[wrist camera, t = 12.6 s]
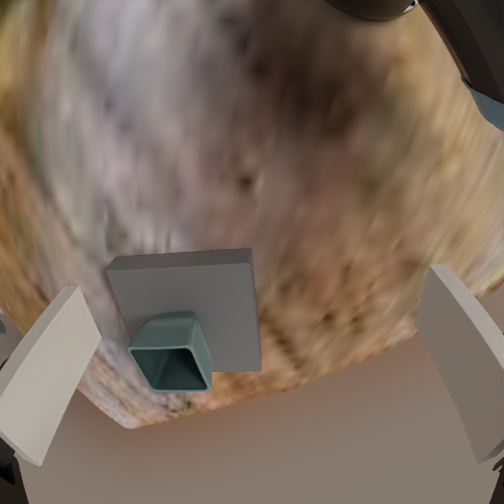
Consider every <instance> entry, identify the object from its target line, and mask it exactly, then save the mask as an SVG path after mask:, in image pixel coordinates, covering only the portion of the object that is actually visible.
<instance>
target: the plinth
mask: <svg viewBox="0 0 504 504" xmlns="http://www.w3.org/2000/svg"><path fill="white" fill-rule="evenodd" d="M106 274H107V277H108V280H109V282H110V285H111V288H112V291H113V294H114V296H115V299H116V302H117V304H118V307H119V310H120V312H121V315H122V317H123V320H124V322H125V325H126V327H127V330H128V332H129V334H130V337H131V339H132V340H133V338H134V337H135V336H136V334H137V333H138V331H139V330H140V329H141V328H142V326H143V325H144V324H145V323H147V322H148V321H149V320H151V319H153V318H155V317H157V316H160V315H163V314H171V313H184V312H195V313H196V315H197V317H198V320H199V323H200V325H201V328H202V331H203V333H204V336H205V339H206V341H207V344H208V347H209V350H210V354H211V360H212V372H241V371H261V344H260V334H259V324H258V314H257V304H256V294H255V284H254V274H253V264H252V254H251V248H242V249H227V250H212V251H197V252H182V253H167V254H152V255H137V256H123V257H116V258H115V259H114V261H113V262H112V263H111V264H110V266H109V267H108V268H107V269H106Z"/></svg>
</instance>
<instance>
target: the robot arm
mask: <svg viewBox="0 0 504 504" xmlns="http://www.w3.org/2000/svg"><path fill="white" fill-rule="evenodd" d="M325 1H327V2H328V3H329V4H331V5H332V6H334V7H335V8H337V9H339V10H341V11H343V12H345V13H347V14H349V15H352V16H355V17H358V18H361V19H366V20H373V21H385V20H391V19H395V18H398V17H400V16H402V15H404V14H406V13H408V12H409V11H411V10H412V9H413V8H414V7H415V6H416V5H417V4H418V3H419V5H420V6H421V7H422V9H423V10H424V12H425V13H426V15H427V16H428V18H429V19H430V21H431V22H432V24H433V25H434V27H435V28H436V30H437V32H438V33H439V35H440V37H441V38H442V40H443V42H444V44H445V45H446V47H447V49H448V51H449V53H450V54H451V56H452V58H453V60H454V62H455V64H456V66H457V68H458V70H459V72H460V74H461V79H462V81H463V83H464V85H465V86H466V87H467V88H468V89H469V91H470V93H471V94H472V97H473V99H474V101H475V103H476V105H477V107H478V109H479V111H480V113H481V114H482V115H483V117H484V118H485V119H486V120H487V121H488V122H490V123H491V124H493V125H494V126H495V127H496V128H498V129H500V130H502V131H504V0H325ZM415 325H416V327H417V329H418V331H419V333H420V334H421V336H422V338H423V340H424V342H425V344H426V346H427V348H428V350H429V352H430V354H431V356H432V358H433V360H434V362H435V364H436V366H437V368H438V370H439V372H440V374H441V376H442V378H443V380H444V383H445V385H446V387H447V389H448V392H449V394H450V396H451V398H452V400H453V403H454V405H455V407H456V410H457V412H458V414H459V417H460V419H461V422H462V424H463V426H464V429H465V431H466V434H467V437H468V439H469V442H470V445H471V447H472V450H473V452H474V455H475V458H476V461H477V464H480V463H482V462H484V461H486V460H489V459H491V458H493V457H495V456H497V455H498V454H499V453H500V452H501V451H502V450H503V449H504V333H503V334H502V332H501V331H500V330H499V328H498V327H497V326H496V324H495V323H494V322H493V320H492V319H491V318H490V316H489V315H488V314H487V312H486V311H485V310H484V308H482V306H481V305H480V303H479V302H478V301H477V300H476V298H475V297H474V296H473V295H472V293H471V292H470V291H469V290H468V289H467V287H466V286H465V285H464V284H463V283H462V281H461V280H460V279H459V278H458V277H457V275H456V274H455V273H454V272H453V271H452V270H451V269H450V267H449V266H448V265H447V264H446V263H444V264H434V265H429V268H428V273H427V278H426V282H425V286H424V291H423V295H422V299H421V303H420V307H419V311H418V314H417V318H416V322H415ZM101 339H102V337H101V335H100V333H99V331H98V329H97V326H96V324H95V322H94V320H93V318H92V315H91V313H90V311H89V309H88V306H87V304H86V302H85V299H84V297H83V294H82V292H81V289H80V287H79V286H64V287H63V289H62V290H61V291H60V292H59V293H58V295H57V296H56V297H55V298H54V299H53V301H52V302H51V303H50V304H49V306H48V307H47V308H46V309H45V311H44V312H43V313H42V314H41V316H40V317H39V318H38V319H37V321H36V322H35V323H34V325H33V326H32V327H31V329H30V330H29V331H28V333H27V334H26V335H25V337H24V338H23V339H22V341H21V342H20V343H19V345H18V346H17V348H16V349H15V350H14V352H13V353H12V355H11V356H10V357H9V358H8V359H7V360H5V361H4V362H3V364H2V365H1V367H0V504H29V502H28V499H27V496H26V492H25V489H24V485H23V481H22V477H21V472H20V468H19V464H18V461H17V459H16V458H15V457H14V456H13V455H14V453H15V451H16V452H17V453H18V454H19V455H20V456H21V457H23V458H24V459H25V460H26V461H29V462H31V463H33V464H35V465H38V466H40V467H41V465H42V462H43V460H44V457H45V455H46V452H47V450H48V447H49V445H50V443H51V441H52V438H53V436H54V434H55V431H56V429H57V427H58V425H59V423H60V420H61V418H62V416H63V414H64V412H65V410H66V408H67V405H68V404H69V401H70V399H71V397H72V395H73V393H74V391H75V389H76V387H77V385H78V383H79V381H80V379H81V377H82V375H83V373H84V371H85V369H86V367H87V366H88V364H89V362H90V360H91V358H92V356H93V354H94V352H95V350H96V349H97V347H98V345H99V343H100V341H101ZM502 464H503V465H502ZM501 465H502V468H501V469H500V470H499V472H500V475H499V478H498V481H497V484H496V487H495V490H494V492H493V495H492V498H491V501H490V503H489V504H504V457H503V458H502V459H501V460H500V461H498V462H497V463H496V464H495V466H494V468H493V469H492V470H493V471H495V470H496V469H497V468H499V467H500V466H501Z"/></svg>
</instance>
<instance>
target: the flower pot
mask: <svg viewBox="0 0 504 504" xmlns="http://www.w3.org/2000/svg"><path fill="white" fill-rule="evenodd" d="M127 351H128V353H129V355H130V357H131V358H132V360H133V362H134V363H135V365H136V366H137V368H138V370H139V371H140V373H141V375H142V376H143V378H144V379H145V381H146V383H147V384H148V386H149V388H150V389H151V390H152V391H154V392H208V391H211V378H212V360H211V354H210V350H209V347H208V344H207V341H206V339H205V336H204V333H203V331H202V328H201V325H200V323H199V320H198V317H197V315H196V313H195V312H184V313H171V314H163V315H160V316H157V317H155V318H153V319H151V320H149V321H148V322H147V323H145V324H144V325H143V326H142V328H141V329H140V330H139V331H138V333H137V334H136V336H135V337H134V338H133V340H132V341H131V343H130V344H129V346H128V347H127Z"/></svg>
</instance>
